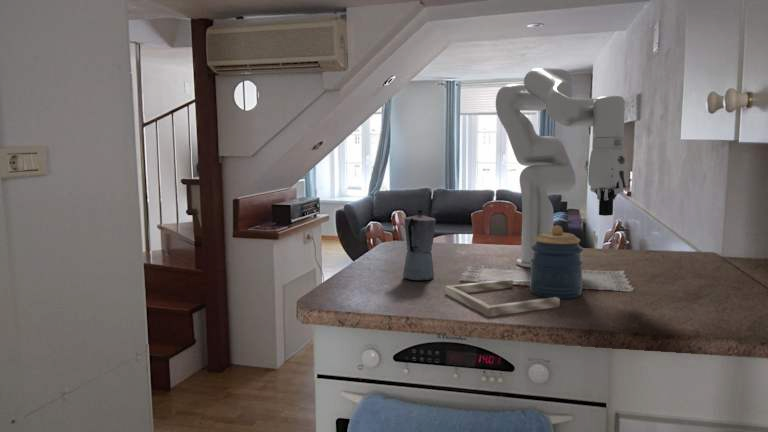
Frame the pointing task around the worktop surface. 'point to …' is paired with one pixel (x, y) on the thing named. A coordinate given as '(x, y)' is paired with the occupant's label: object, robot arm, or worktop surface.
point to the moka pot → (419, 247)
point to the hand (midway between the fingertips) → (605, 215)
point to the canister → (556, 265)
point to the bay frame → (500, 309)
